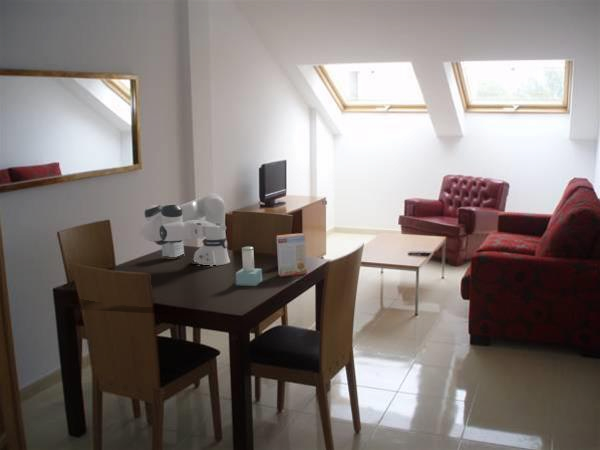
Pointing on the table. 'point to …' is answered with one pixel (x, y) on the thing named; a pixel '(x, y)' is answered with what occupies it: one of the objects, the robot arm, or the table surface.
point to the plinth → (249, 277)
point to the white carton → (173, 249)
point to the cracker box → (291, 254)
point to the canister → (248, 259)
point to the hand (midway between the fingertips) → (222, 225)
